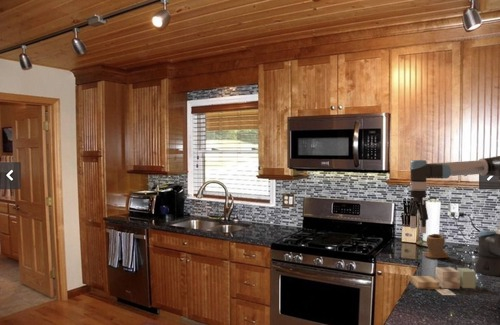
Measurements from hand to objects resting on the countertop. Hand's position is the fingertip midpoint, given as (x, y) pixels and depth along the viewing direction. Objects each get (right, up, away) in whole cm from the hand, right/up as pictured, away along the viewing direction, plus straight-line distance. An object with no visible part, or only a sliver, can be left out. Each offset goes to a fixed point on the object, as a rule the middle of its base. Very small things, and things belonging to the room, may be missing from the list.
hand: (417, 230), depth 199 cm
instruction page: (+4, -25, -19) cm, 32 cm away
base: (-1, -25, -9) cm, 27 cm away
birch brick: (+10, -26, -9) cm, 29 cm away
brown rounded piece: (+32, -26, +45) cm, 61 cm away
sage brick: (+19, -26, -10) cm, 34 cm away
